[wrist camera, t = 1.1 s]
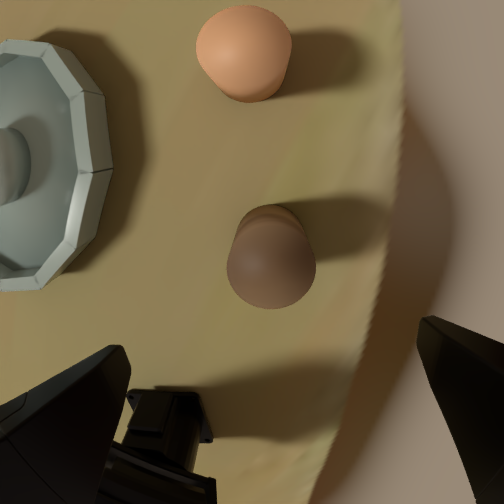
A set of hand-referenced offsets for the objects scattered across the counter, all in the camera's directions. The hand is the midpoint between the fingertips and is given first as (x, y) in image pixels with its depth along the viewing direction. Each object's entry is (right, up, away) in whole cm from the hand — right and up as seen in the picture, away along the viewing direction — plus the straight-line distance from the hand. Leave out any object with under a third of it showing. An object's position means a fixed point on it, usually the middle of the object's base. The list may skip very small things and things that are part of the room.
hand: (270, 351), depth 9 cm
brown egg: (-1, +13, +7) cm, 15 cm away
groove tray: (-18, +9, +9) cm, 22 cm away
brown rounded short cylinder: (+1, +4, +10) cm, 11 cm away
